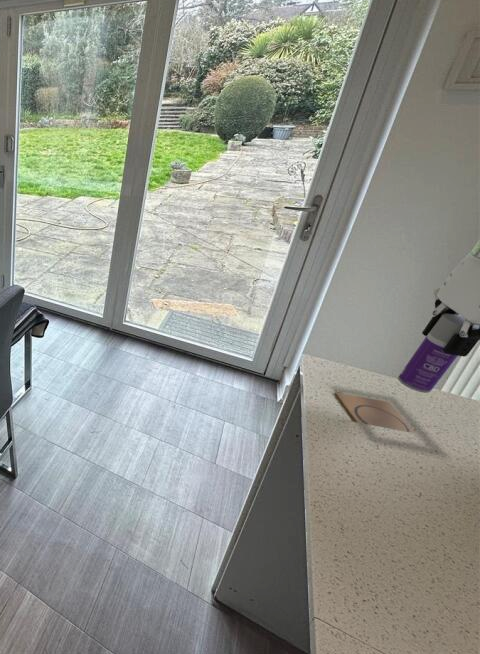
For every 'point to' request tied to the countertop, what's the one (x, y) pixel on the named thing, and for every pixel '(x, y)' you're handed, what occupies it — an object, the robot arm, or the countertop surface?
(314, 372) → the countertop surface
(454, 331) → the container
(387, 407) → the coaster
